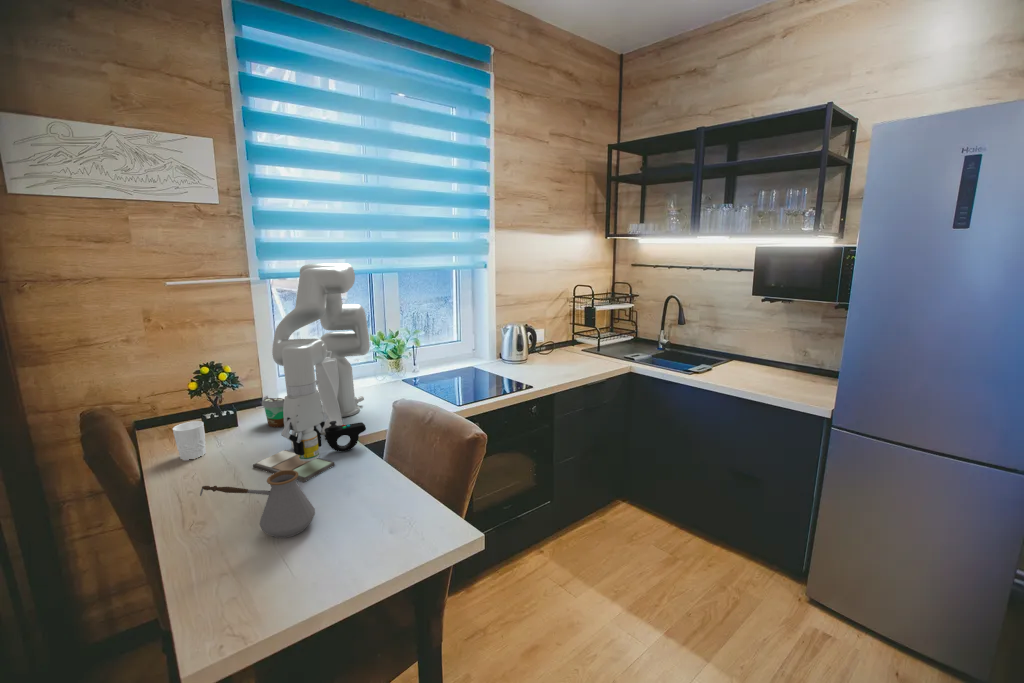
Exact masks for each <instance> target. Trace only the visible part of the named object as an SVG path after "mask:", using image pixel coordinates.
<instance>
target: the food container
mask: <svg viewBox="0 0 1024 683" xmlns="http://www.w3.org/2000/svg"><path fill="white" fill-rule="evenodd" d="M261 406H262V407H263V408H264V412H265V416H266V420H267V424H268V426H269V427H270V428H275V429H276V428H277V429H278V428H284V415H283V407H284V398H281V397H277V398H276V397H275V398H274V397H273V398H272V397H269V395H265V396H263V397H262V399H261Z"/></svg>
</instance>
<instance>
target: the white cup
mask: <svg viewBox="0 0 1024 683" xmlns="http://www.w3.org/2000/svg"><path fill="white" fill-rule="evenodd" d="M172 433H173V436H174V441H175V446H176V448H177V451H178V455H179V459H180V460H181V459H183V460H182V461H190V460H189V459H194V458H197V457H200V456H202V455H204V454H205V453H206V454H207V449H206V444H207V443H206V433H205V426H204V421H201V420H200V421H199V420H194V421H193V420H191V421H188V422H183V423H180V424H177V425H175V426H173V427H172ZM206 454H205V455H206ZM205 455H204V456H205ZM202 457H203V456H202ZM200 458H201V457H200ZM197 459H198V458H197ZM194 460H195V459H194Z"/></svg>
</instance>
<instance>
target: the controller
mask: <svg viewBox="0 0 1024 683" xmlns="http://www.w3.org/2000/svg"><path fill="white" fill-rule="evenodd" d="M336 423H337V422H336V421H331V422H330V423H329V424H331V426H330V427H329V428H326V429H325V430H324V431H325V433H326V435H323V436H324V439H325V441H326V442H327V444H328V446H329V448H331V449H333V450H334V451H335V452H340V453H341V452H342V453H343V452H348V451H351V450H352V449H353V448H355V446H356V445H357V444H358V442H359V436H360V435H361V434H362V433H364V432H366V430H367V427H366V425H365V423H364V422H362V421H361V422H355V423H354V422H353V423H350V424H349V423H348V424H343V425H339V426H337V425H335V424H336ZM344 436H347V437H348V438H349V441H348V442H347V443H346V444H344V445H340V444H338V440H339V438H340V437H344Z"/></svg>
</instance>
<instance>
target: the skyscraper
mask: <svg viewBox="0 0 1024 683" xmlns="http://www.w3.org/2000/svg"><path fill="white" fill-rule="evenodd" d="M328 352H330V356H329V357H326V358H325V360H324V361H323V362H322V363H320V364H317V365H314V370H315V380H317V381H318V384H317V385H316V388H317V390H318V392H319V395H320V398H321V402H322V407H323V412H324V413H325V414H326V415H327V416H328V419H327V420H326V422H325V425H324V427H323V428H322V430H323V431H322V433H321V436H324V435H326V433H325V431H324V430H325V429H326V428H329V427H330V426H331V424H329V423H330V422H331V421H336V422H337V423H336V424H335V425H337V426H339V425H344V424H343V417H341V413H340V408H339V404H338V401H337V396H338V388H339V376H338V367H337V360H336V358H331V353H332V352H331V351H328Z"/></svg>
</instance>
